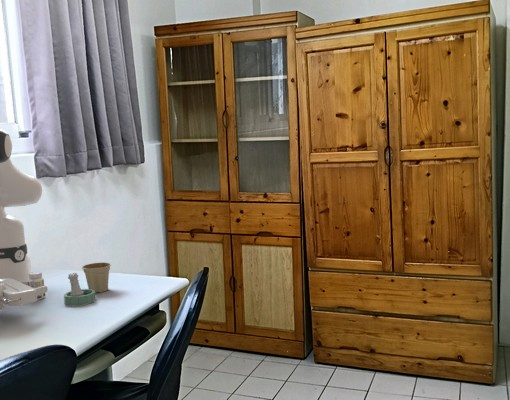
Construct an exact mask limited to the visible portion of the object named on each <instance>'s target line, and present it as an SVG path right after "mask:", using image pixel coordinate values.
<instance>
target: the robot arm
mask: <svg viewBox="0 0 510 400" xmlns="http://www.w3.org/2000/svg"><path fill="white" fill-rule="evenodd" d="M12 152H13V142H12V140H11V135H10V134H8V132H7V131H5V130H3V129H0V311H2V310H3V308H4V306H5V305H8V306H11V307H13V306H14V307H15V306H21V305H28V304H32V303H36V302H37V301H38V300H37V296H38V295H40V294H42V293H45V294H46V293H48V291H49V289H48V286H46V285H44V286H40V287H39V288H32V287H34V286H35V282H34V281H32V280H31V281H28V280H29V279H30V278H29V273H31V272H33V269H32V268H33V267H32V263H31V259H30V257H29V256H28V255H27V254H28V246H27V243H26V241H25V240H26V238H25V227H24V224H23V221H21V220H20V219H19V218H17V217H16V216H15V217H14V216H12V215H10V214H8V212H7V211H6V210H5V208H12V207H13V208H15V207H25V206H29V205H34V204H36V203H37V204H38V202H39V201H40V199H41V197H42V195H43V187H42V184H41V182H40V180H39V179H38V178H37V177H36V176H33V175H29V174H28V173H25V172H24V171H22V170H20V169H19V168H17V166H15V165H14V164H13V162H12V161H11V156H12V155H11V154H12Z"/></svg>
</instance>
